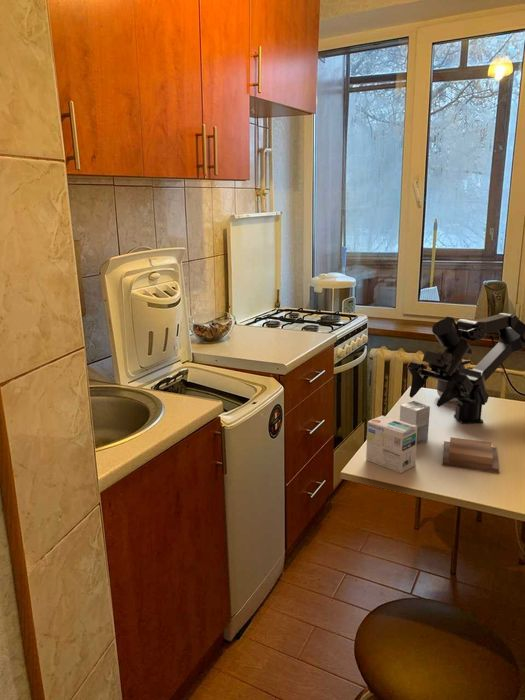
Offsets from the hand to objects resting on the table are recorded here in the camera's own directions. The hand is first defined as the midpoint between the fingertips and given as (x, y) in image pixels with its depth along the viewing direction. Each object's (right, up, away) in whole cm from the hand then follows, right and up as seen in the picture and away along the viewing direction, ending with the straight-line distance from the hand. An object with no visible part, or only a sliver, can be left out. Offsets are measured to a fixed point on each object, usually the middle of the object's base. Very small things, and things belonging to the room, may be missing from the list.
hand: (423, 401), depth 149 cm
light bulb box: (-12, -15, -13) cm, 23 cm away
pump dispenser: (+19, -3, +32) cm, 37 cm away
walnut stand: (+9, -14, -11) cm, 19 cm away
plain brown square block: (-3, -11, +1) cm, 11 cm away
